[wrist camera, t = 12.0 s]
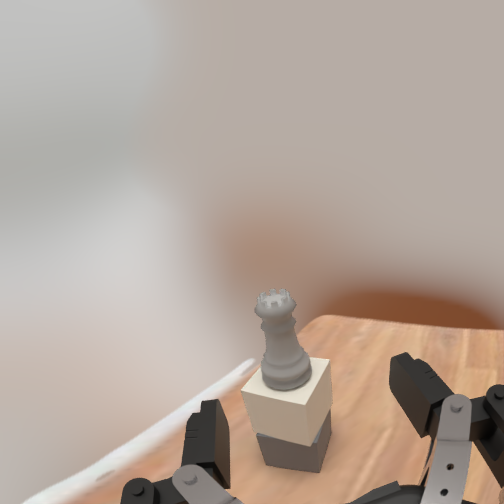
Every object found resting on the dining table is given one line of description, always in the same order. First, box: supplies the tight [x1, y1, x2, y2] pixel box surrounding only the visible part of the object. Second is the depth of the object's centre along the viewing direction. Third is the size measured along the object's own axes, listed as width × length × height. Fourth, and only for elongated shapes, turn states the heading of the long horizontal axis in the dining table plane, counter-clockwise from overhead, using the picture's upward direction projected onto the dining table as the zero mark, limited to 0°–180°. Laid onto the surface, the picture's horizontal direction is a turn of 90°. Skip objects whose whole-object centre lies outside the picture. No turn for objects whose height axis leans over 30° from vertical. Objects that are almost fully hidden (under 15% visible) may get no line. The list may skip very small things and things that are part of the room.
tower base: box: [256, 410, 331, 473], centre depth 27 cm, size 6×6×6 cm
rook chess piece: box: [255, 289, 312, 390], centre depth 24 cm, size 4×4×8 cm
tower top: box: [241, 357, 333, 447], centre depth 26 cm, size 6×6×6 cm
